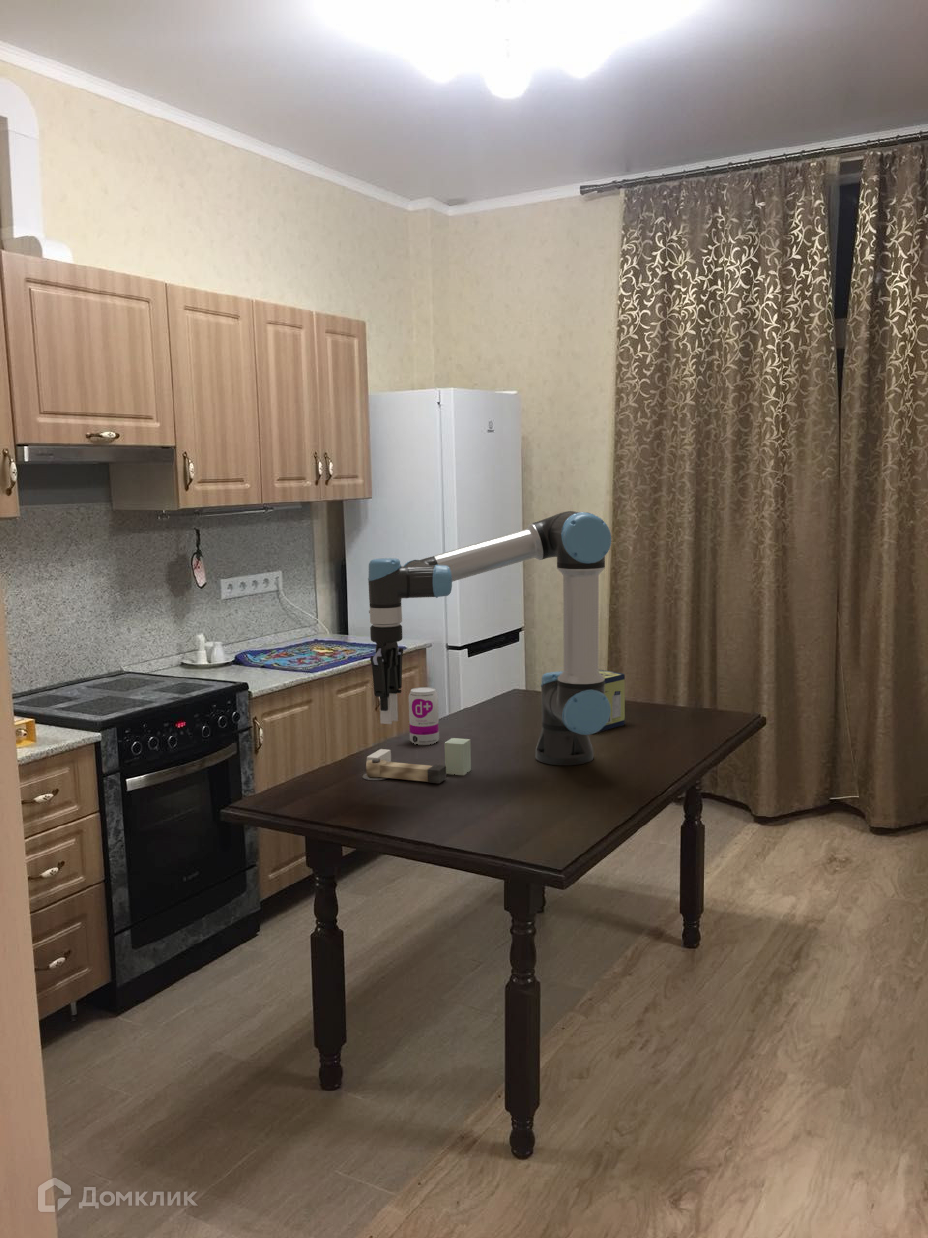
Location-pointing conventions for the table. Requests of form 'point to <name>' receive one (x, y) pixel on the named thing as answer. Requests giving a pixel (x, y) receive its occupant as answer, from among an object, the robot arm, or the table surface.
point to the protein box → (614, 698)
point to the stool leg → (405, 771)
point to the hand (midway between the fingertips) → (389, 721)
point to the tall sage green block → (457, 756)
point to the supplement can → (423, 716)
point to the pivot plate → (373, 777)
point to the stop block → (381, 755)
